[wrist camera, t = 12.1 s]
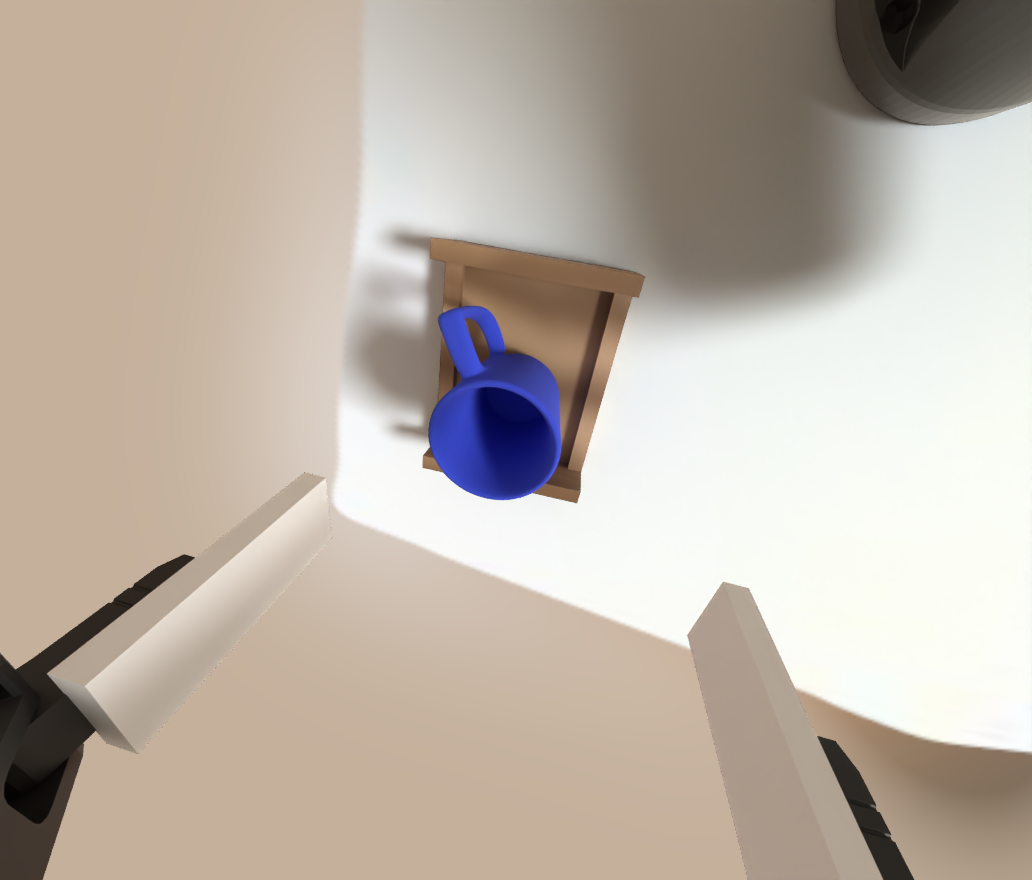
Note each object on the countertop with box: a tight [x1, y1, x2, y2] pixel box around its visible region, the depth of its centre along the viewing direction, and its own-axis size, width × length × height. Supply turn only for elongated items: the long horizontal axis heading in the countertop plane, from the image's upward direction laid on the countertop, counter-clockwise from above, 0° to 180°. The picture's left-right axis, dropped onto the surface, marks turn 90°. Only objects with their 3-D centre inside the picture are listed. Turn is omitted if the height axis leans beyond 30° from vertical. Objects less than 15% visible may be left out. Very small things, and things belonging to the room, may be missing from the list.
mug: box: [428, 306, 561, 500], centre depth 25 cm, size 8×12×10 cm
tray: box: [423, 238, 645, 503], centre depth 29 cm, size 17×13×5 cm
